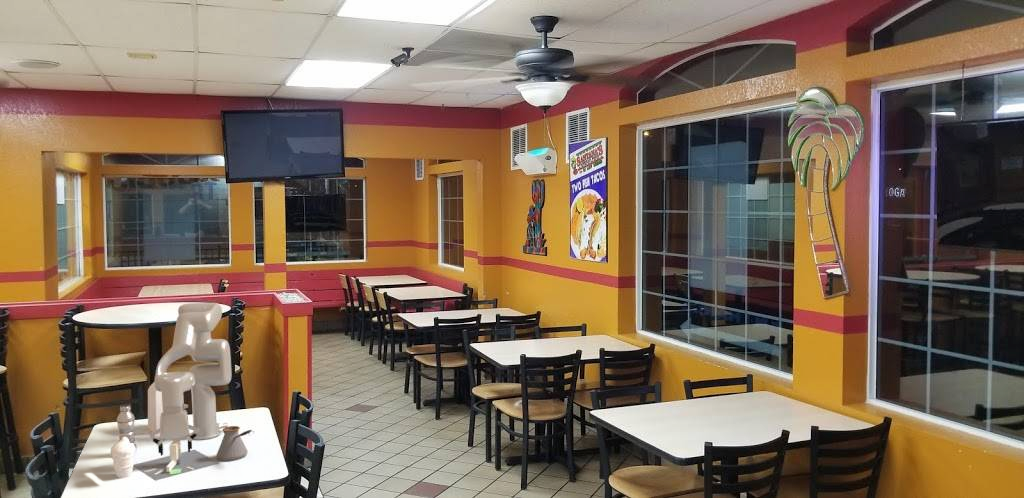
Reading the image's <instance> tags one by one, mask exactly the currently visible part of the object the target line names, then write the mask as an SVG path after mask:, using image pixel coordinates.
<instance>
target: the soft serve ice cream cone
mask: <svg viewBox="0 0 1024 498" xmlns="http://www.w3.org/2000/svg"><path fill="white" fill-rule="evenodd" d="M135 450H136V451H137V447H136V448H135V446H134V445H133V444H131V443H130V442H129V439H128V438H127V437H123V438H122V439H121V440H120V441H119V440H118V441H117V443H116V444H114V445H113V446H112V447H111V448H110V452H109V453H110V455H111V456H112V460H113V461H112V462H113V468H114V471H115V474H116V478H117V479H126V478H129V477H131V476H133V475H132V474H133V470H134V469H133V468H134V466H133V465H134V464H135V463H134V459H135V458H134V456H135V452H136V451H135Z"/></svg>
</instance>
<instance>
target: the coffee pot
mask: <svg viewBox="0 0 1024 498" xmlns="http://www.w3.org/2000/svg"><path fill="white" fill-rule="evenodd" d="M240 429H241V427H240V426H238V425H231V426H228V427H226V428H222V433H223V434H224V435H223V437H222V439H221V442H220V446H219V448H218V450H217V452H216V457H217V459H218V460H219V461H221V462H232V461H237V460H241V459H244V458H245V457H246V456H247V455H248V449H247V447H246V445H245V443H244V441H243V439H242V436H243V437H244V436H246V435H250V433H251V432H253V433H255V431H254V430H253V429H252V430H251V429H249V430H246V431H243V432H242V433H239V430H240Z"/></svg>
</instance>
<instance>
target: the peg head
mask: <svg viewBox="0 0 1024 498" xmlns="http://www.w3.org/2000/svg"><path fill="white" fill-rule="evenodd" d="M168 448H169V456H170V461H171V462H170V463H169V464H168V466H167V467H166V470H167V472H170V471H171V470H172V468H173V467H174V466H175V465H176V464H179V457H180V456H181V453H182V442H181V439H173V441H172V442H170V444H169V447H168Z"/></svg>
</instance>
